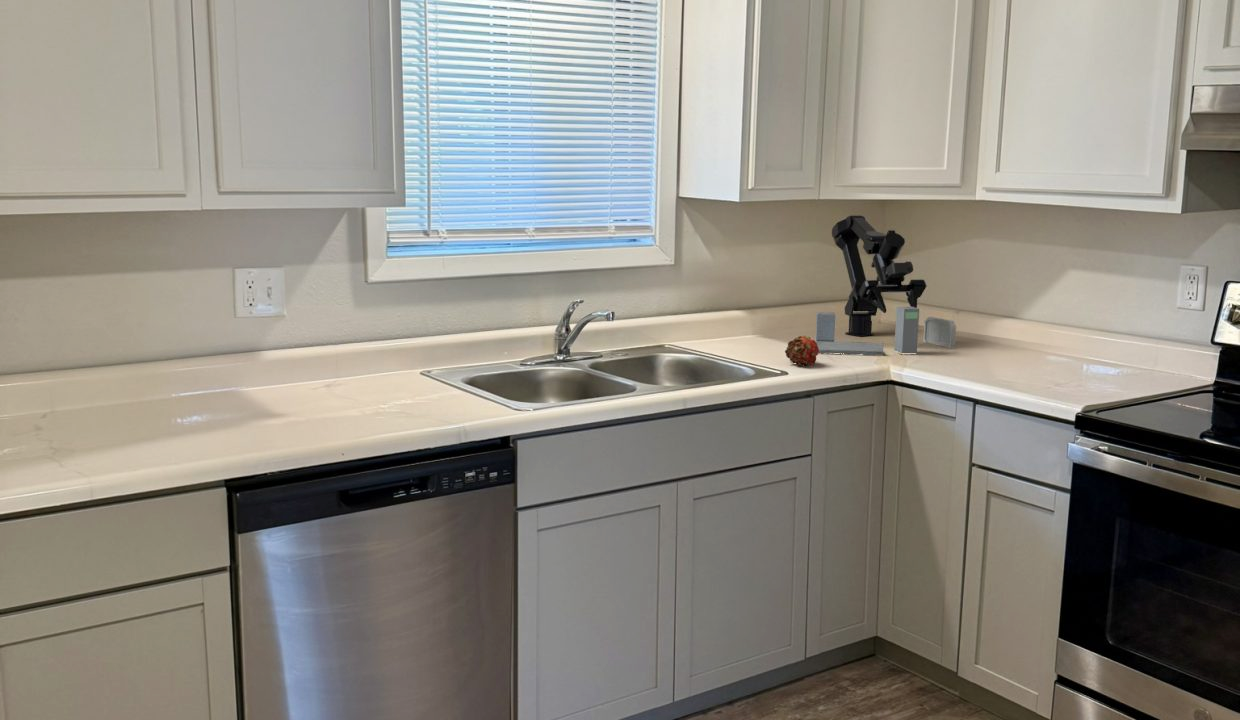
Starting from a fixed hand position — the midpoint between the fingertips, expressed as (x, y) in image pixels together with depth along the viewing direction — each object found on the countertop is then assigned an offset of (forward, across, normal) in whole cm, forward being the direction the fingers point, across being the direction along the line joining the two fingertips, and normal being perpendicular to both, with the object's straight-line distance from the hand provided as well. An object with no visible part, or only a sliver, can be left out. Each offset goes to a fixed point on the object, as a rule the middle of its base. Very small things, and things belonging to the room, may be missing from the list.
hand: (900, 311), depth 315 cm
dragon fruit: (+20, -35, -4) cm, 41 cm away
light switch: (+3, +16, +13) cm, 21 cm away
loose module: (+11, 0, +5) cm, 12 cm away
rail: (+9, -16, +7) cm, 19 cm away
